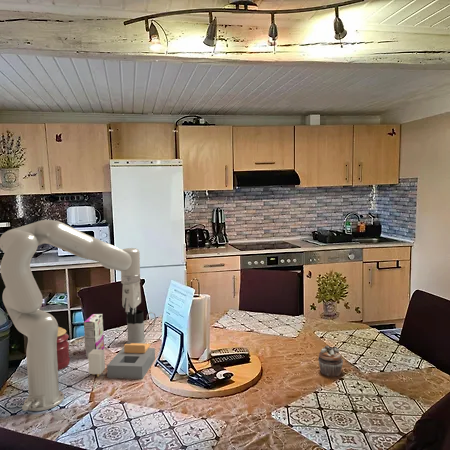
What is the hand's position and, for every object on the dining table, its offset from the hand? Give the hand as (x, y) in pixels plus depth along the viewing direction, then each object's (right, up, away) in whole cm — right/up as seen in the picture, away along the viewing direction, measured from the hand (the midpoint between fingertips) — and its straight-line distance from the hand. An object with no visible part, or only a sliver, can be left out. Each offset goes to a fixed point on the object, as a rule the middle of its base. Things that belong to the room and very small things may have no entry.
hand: (131, 322), depth 164 cm
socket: (0, -19, 0) cm, 19 cm away
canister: (-34, -19, +3) cm, 39 cm away
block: (-12, -19, -6) cm, 24 cm away
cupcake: (+80, -18, -5) cm, 82 cm away
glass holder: (-2, -16, +29) cm, 34 cm away
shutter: (+1, -13, +7) cm, 15 cm away
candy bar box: (-20, -18, +16) cm, 31 cm away
